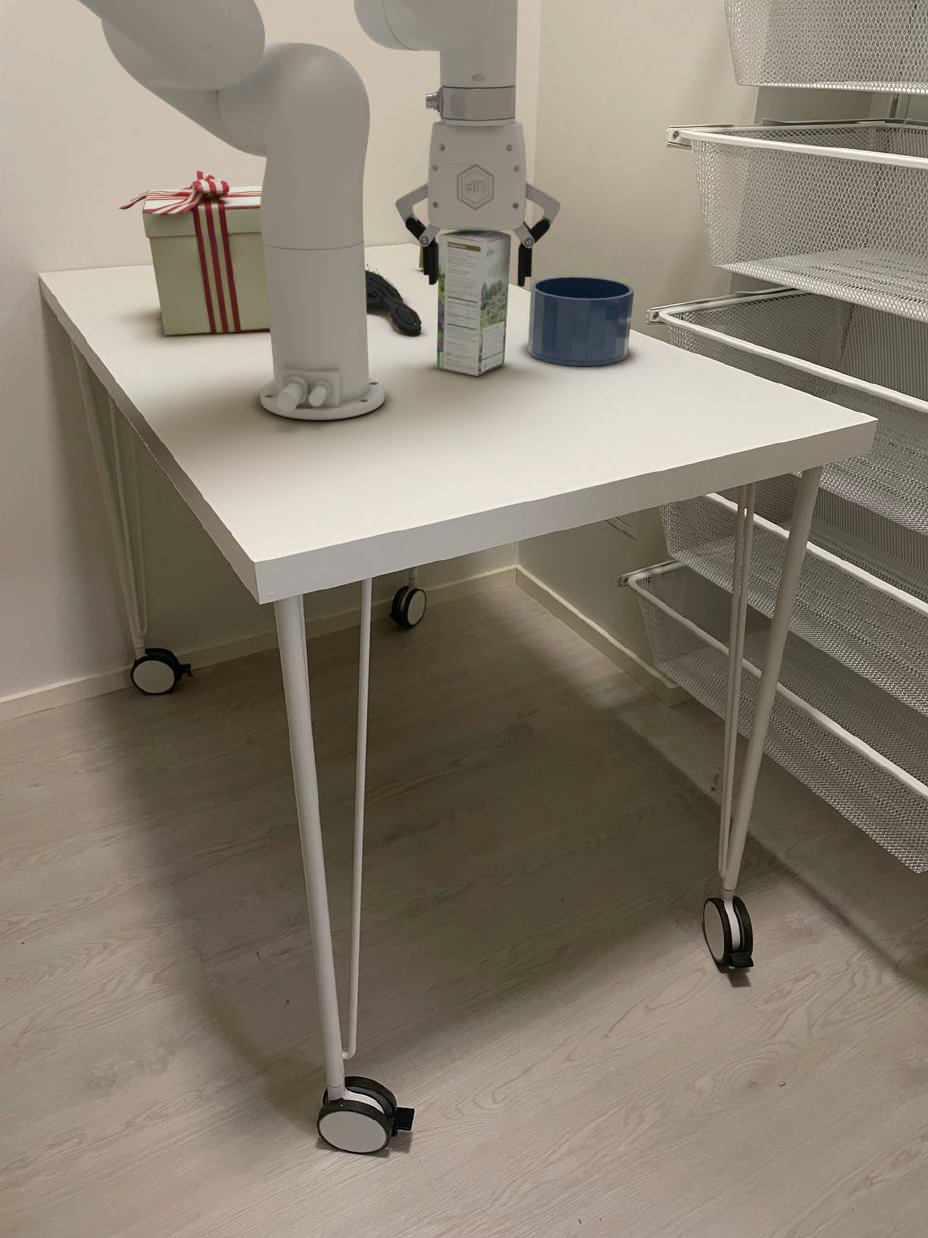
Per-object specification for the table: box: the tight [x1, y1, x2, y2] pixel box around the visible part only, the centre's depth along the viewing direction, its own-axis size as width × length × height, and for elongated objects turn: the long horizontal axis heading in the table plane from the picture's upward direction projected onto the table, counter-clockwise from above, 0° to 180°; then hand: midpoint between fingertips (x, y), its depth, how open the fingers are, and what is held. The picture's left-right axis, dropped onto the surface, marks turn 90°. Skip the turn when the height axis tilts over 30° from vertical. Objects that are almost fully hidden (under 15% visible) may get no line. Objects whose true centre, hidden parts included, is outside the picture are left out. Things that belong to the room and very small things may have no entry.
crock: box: [527, 275, 635, 367], centre depth 115 cm, size 12×12×8 cm
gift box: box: [118, 170, 270, 337], centre depth 122 cm, size 17×18×17 cm
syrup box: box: [436, 230, 512, 377], centre depth 107 cm, size 6×6×14 cm
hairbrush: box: [365, 263, 423, 337], centre depth 131 cm, size 8×4×25 cm
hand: (477, 282), depth 107 cm, fingers open, 9 cm apart
